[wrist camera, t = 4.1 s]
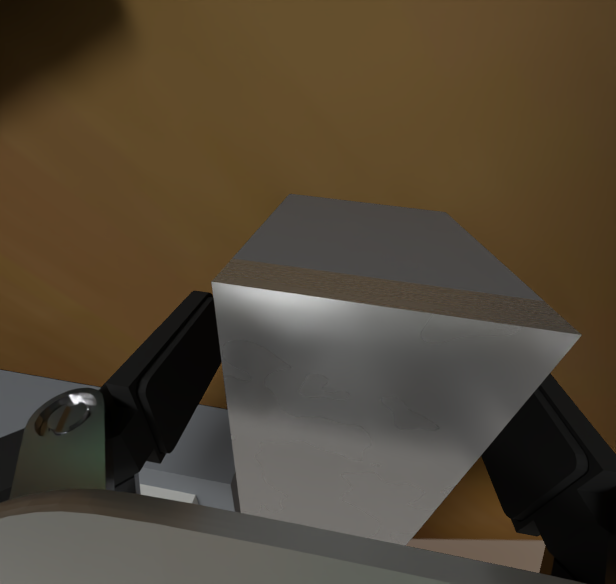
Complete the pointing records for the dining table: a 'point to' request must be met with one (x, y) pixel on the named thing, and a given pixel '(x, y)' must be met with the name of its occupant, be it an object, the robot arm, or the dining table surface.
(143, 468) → the stand
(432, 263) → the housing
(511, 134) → the dining table surface
